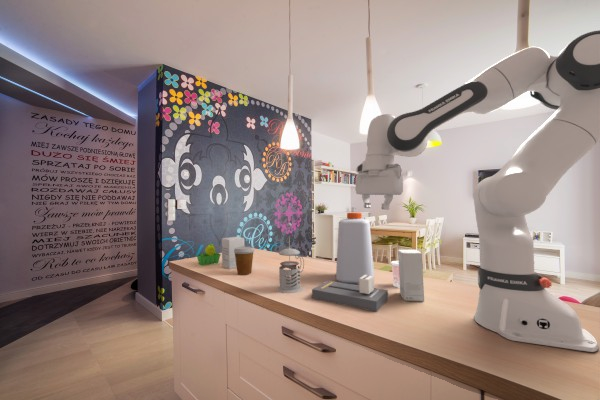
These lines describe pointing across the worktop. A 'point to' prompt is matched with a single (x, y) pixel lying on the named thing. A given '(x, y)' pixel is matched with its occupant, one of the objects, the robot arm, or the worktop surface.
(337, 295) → the fader console
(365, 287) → the fader knob
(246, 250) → the disposable coffee cup
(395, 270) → the beverage cup
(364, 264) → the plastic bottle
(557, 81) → the robot arm
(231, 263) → the supplement box
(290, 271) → the french press
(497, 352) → the worktop surface
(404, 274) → the skincare box
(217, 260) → the fruit basket
